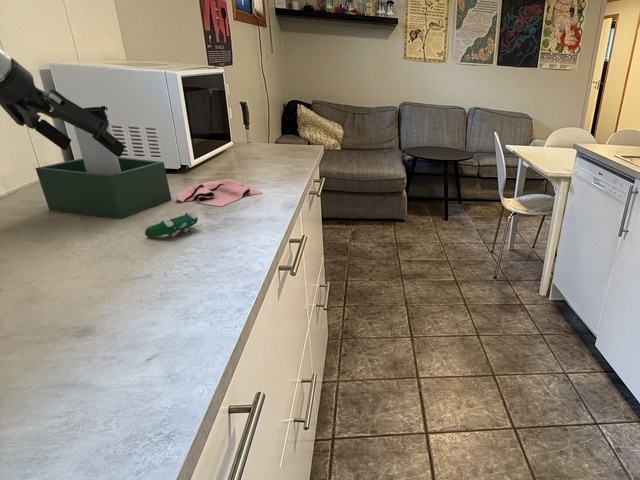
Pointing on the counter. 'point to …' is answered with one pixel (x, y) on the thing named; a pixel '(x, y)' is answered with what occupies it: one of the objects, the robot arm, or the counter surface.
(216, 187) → the cloth
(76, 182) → the tote
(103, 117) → the travel mug
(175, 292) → the counter surface
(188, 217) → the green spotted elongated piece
